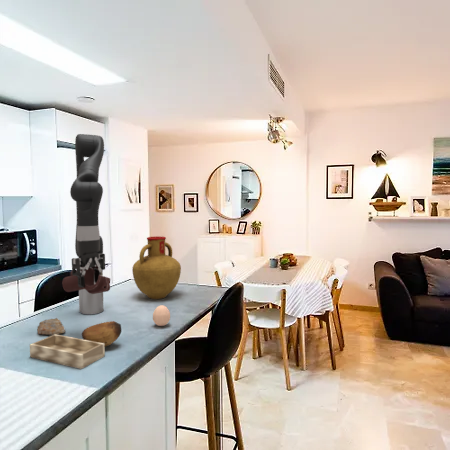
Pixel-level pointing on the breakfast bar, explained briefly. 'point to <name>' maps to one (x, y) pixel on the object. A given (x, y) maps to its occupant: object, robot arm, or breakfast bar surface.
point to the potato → (103, 332)
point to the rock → (50, 327)
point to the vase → (156, 269)
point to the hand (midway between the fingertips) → (89, 284)
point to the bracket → (87, 283)
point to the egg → (161, 315)
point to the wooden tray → (67, 351)
